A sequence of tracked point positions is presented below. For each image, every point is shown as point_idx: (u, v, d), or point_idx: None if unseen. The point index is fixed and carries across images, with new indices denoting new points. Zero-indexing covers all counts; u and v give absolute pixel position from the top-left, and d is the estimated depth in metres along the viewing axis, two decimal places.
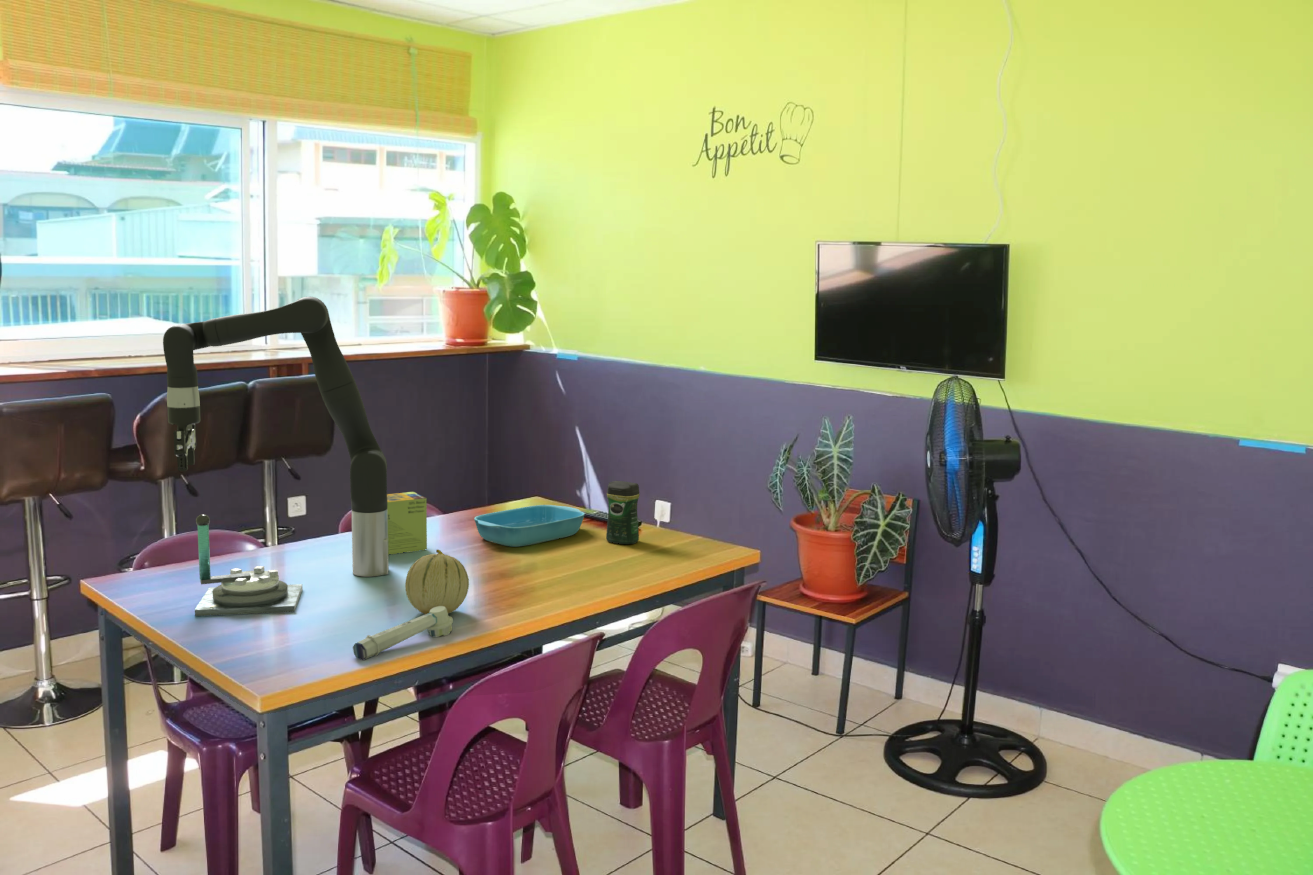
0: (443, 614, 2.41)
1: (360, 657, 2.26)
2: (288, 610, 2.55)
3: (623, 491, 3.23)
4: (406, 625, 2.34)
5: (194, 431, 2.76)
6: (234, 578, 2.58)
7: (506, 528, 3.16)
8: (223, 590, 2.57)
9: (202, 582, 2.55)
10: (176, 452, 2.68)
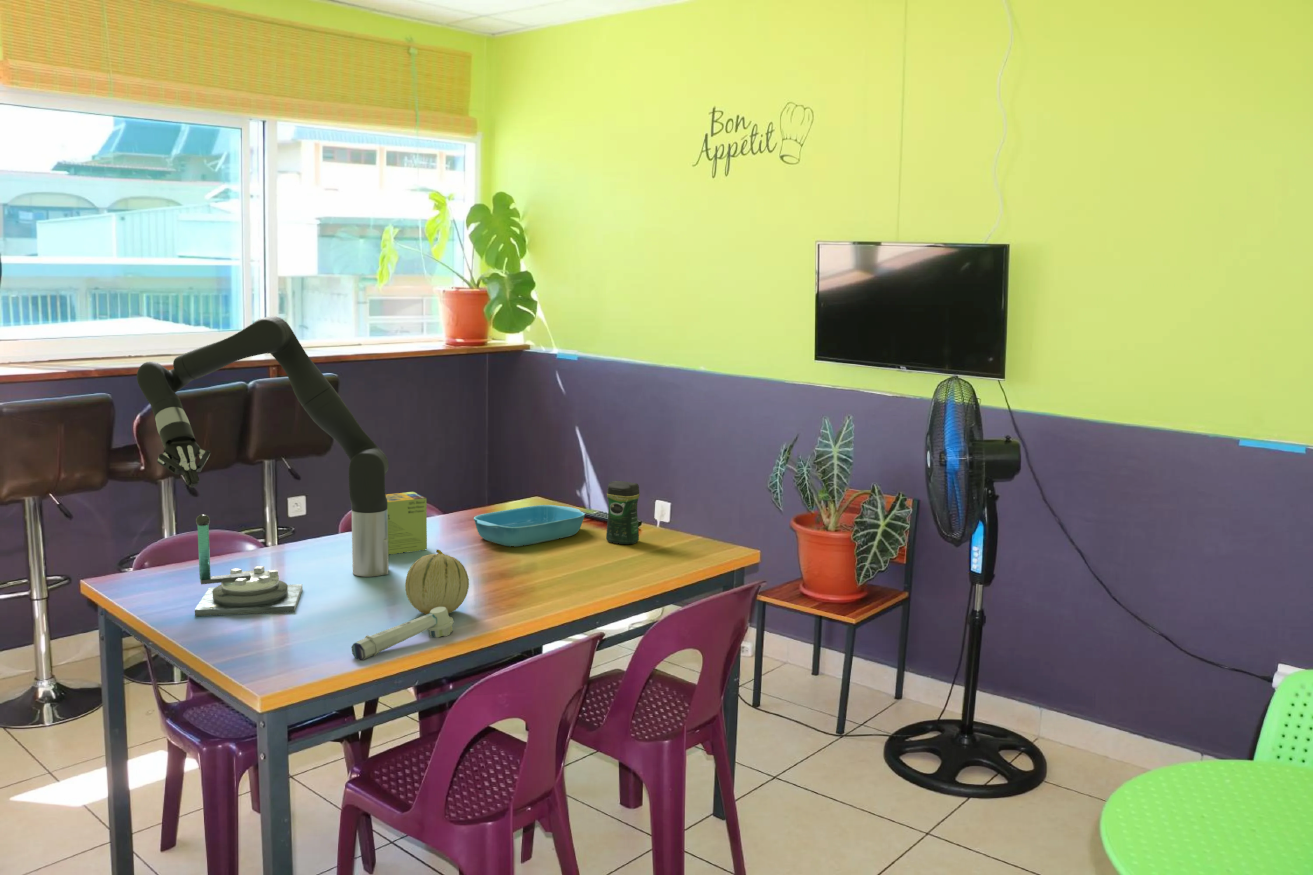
0: (444, 615, 2.41)
1: (358, 657, 2.26)
2: (288, 610, 2.55)
3: (623, 491, 3.23)
4: (405, 625, 2.34)
5: (191, 448, 2.70)
6: (234, 578, 2.58)
7: (504, 528, 3.16)
8: (223, 590, 2.57)
9: (202, 582, 2.55)
10: (174, 471, 2.66)
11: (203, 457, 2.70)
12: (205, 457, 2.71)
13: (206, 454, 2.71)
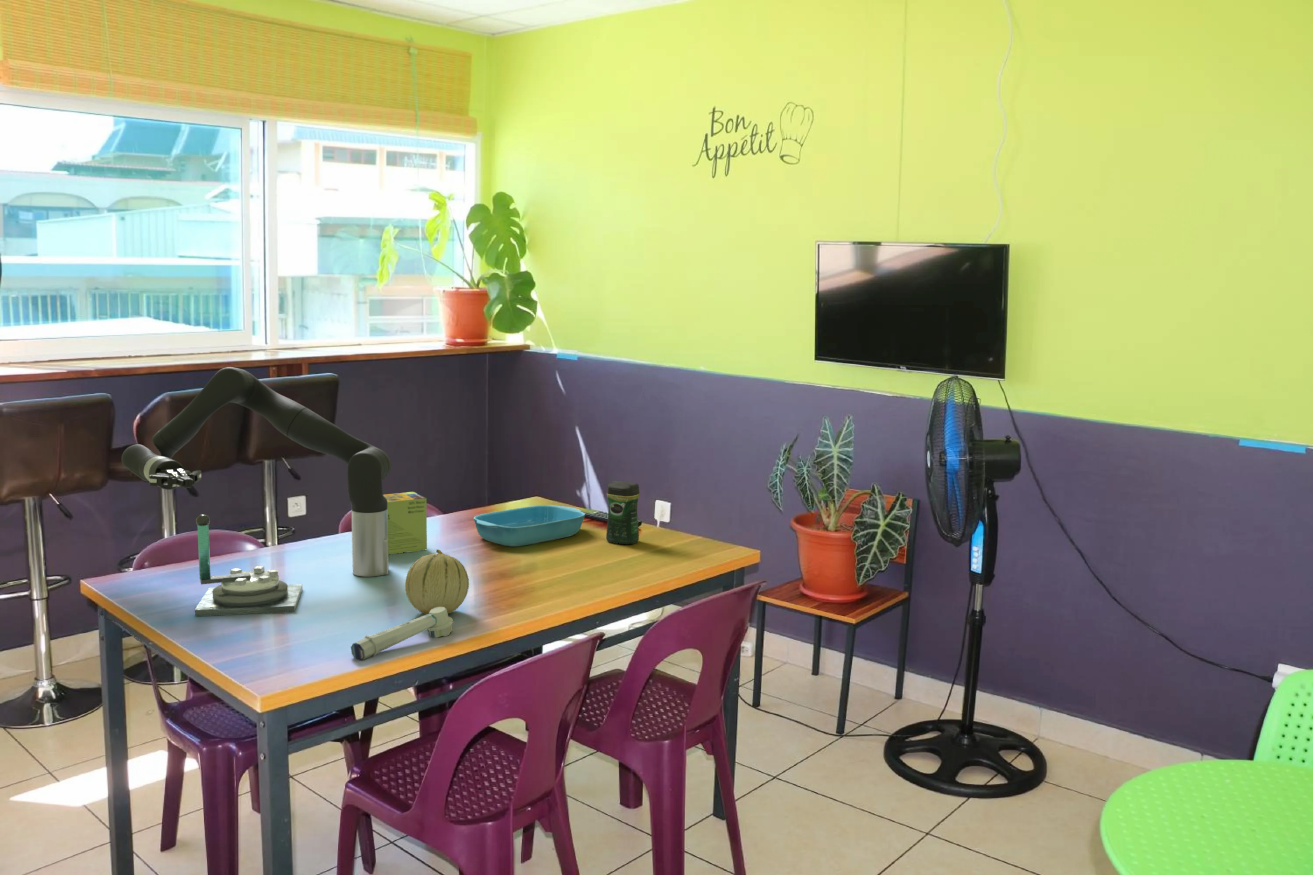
0: (443, 615, 2.41)
1: (358, 657, 2.26)
2: (288, 610, 2.55)
3: (623, 491, 3.23)
4: (405, 625, 2.34)
5: (181, 468, 2.70)
6: (234, 578, 2.58)
7: (503, 528, 3.16)
8: (223, 590, 2.57)
9: (202, 582, 2.55)
10: (167, 484, 2.63)
11: (194, 472, 2.69)
12: (196, 472, 2.70)
13: (197, 471, 2.71)
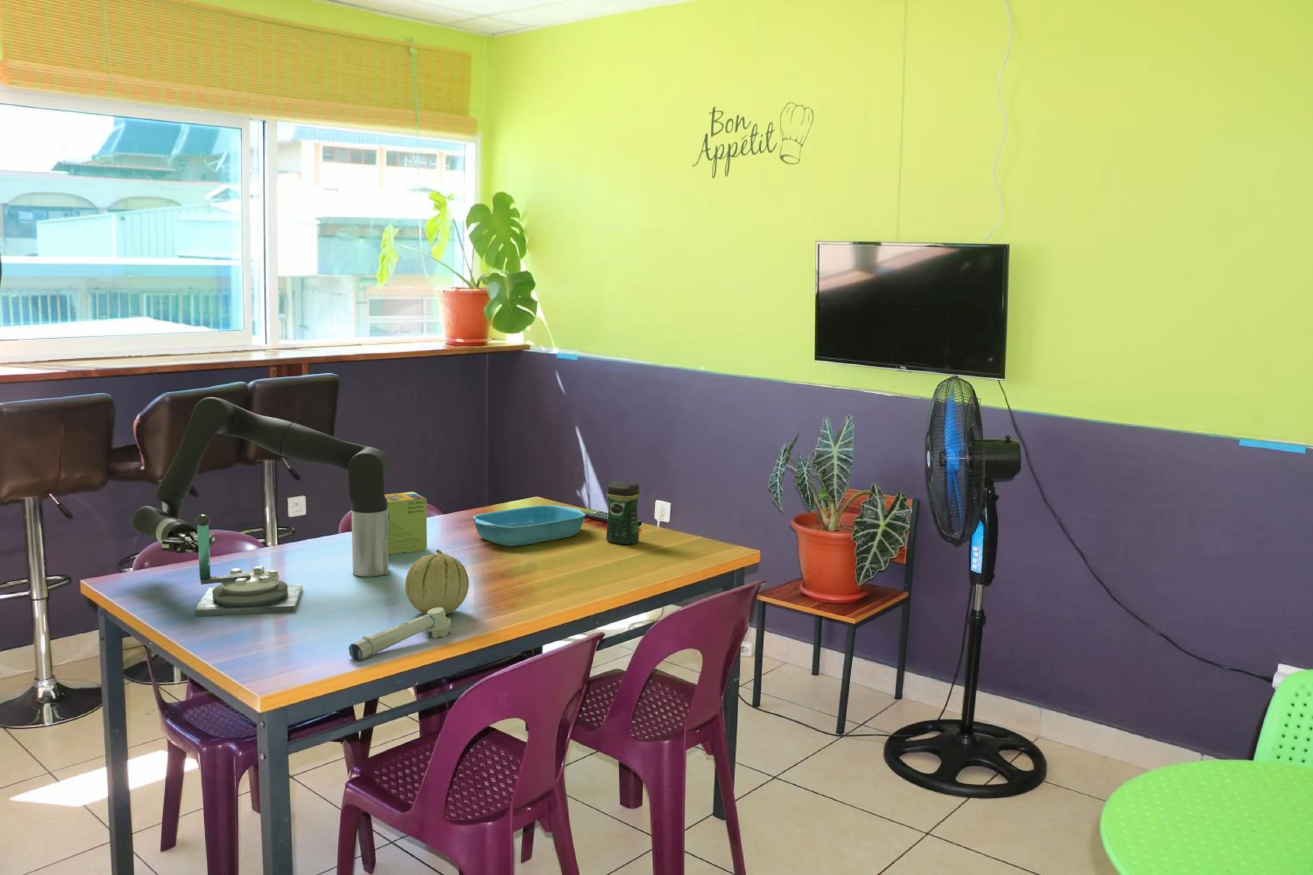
0: (441, 616, 2.40)
1: (355, 658, 2.25)
2: (288, 610, 2.55)
3: (623, 491, 3.23)
4: (402, 626, 2.34)
5: (194, 532, 2.64)
6: (234, 578, 2.58)
7: (500, 527, 3.17)
8: (223, 590, 2.57)
9: (202, 582, 2.55)
10: (180, 549, 2.58)
11: None
12: (209, 535, 2.64)
13: (210, 534, 2.65)
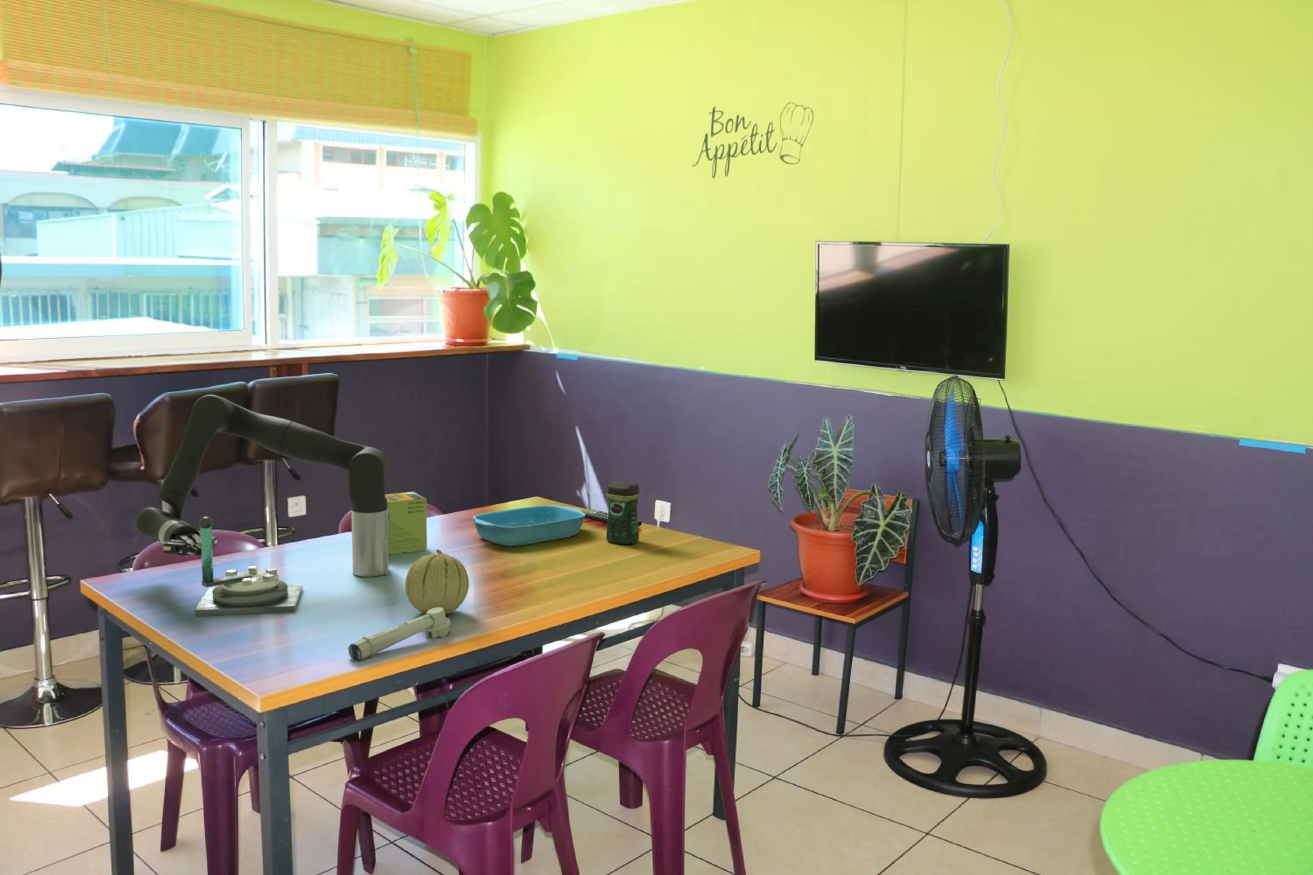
0: (441, 616, 2.40)
1: (355, 658, 2.25)
2: (288, 610, 2.55)
3: (623, 491, 3.23)
4: (402, 626, 2.34)
5: (196, 534, 2.62)
6: (237, 579, 2.57)
7: (500, 527, 3.17)
8: (227, 592, 2.56)
9: (207, 585, 2.53)
10: (181, 552, 2.55)
11: None
12: None
13: (212, 537, 2.63)
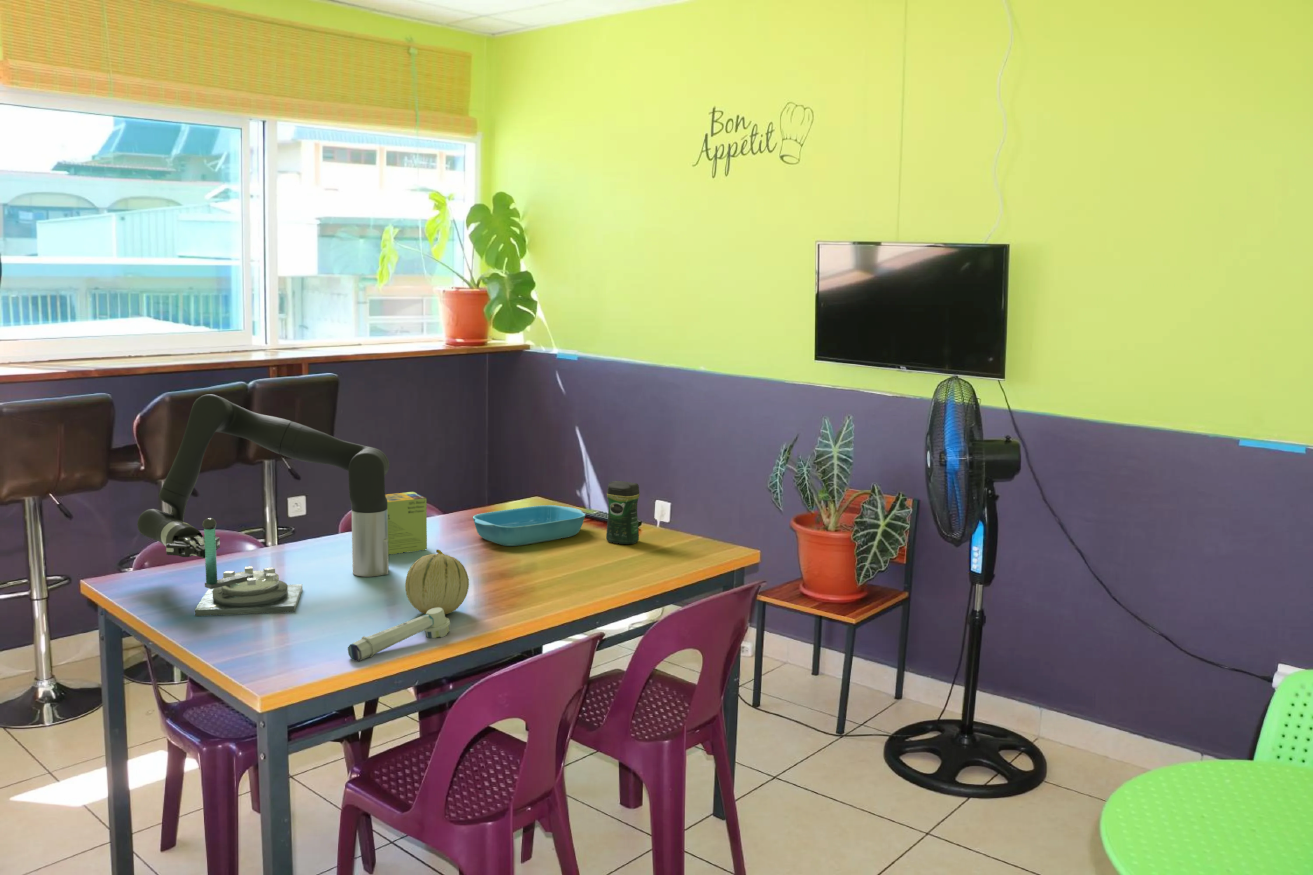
0: (440, 616, 2.40)
1: (355, 658, 2.25)
2: (288, 610, 2.55)
3: (623, 491, 3.23)
4: (402, 626, 2.34)
5: (199, 536, 2.60)
6: (239, 579, 2.57)
7: (499, 527, 3.17)
8: (231, 592, 2.55)
9: (212, 586, 2.52)
10: (184, 553, 2.54)
11: None
12: None
13: None
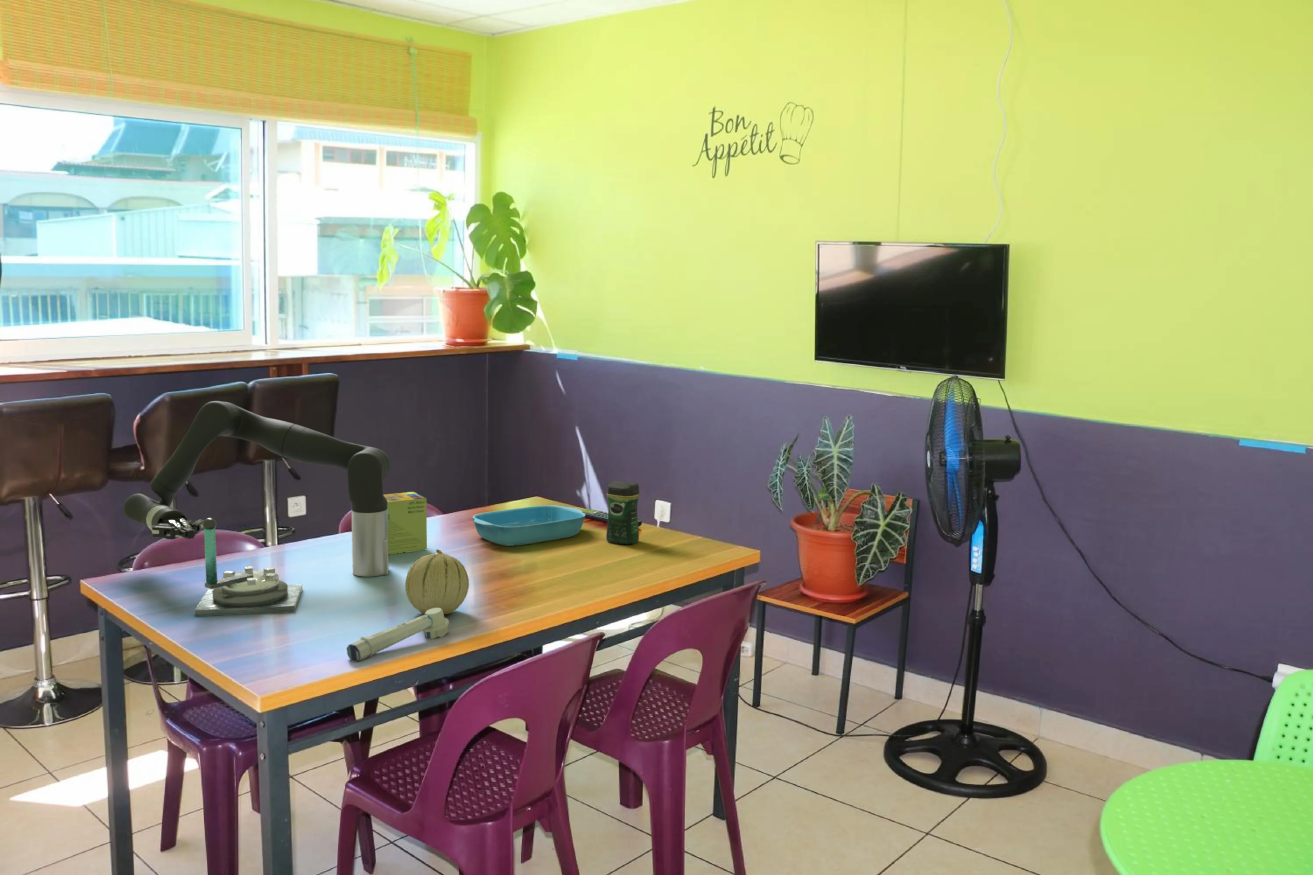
0: (439, 616, 2.40)
1: (354, 659, 2.25)
2: (288, 610, 2.55)
3: (623, 491, 3.23)
4: (400, 626, 2.33)
5: (183, 518, 2.71)
6: (239, 579, 2.57)
7: (498, 527, 3.17)
8: (231, 592, 2.55)
9: (212, 586, 2.52)
10: (170, 535, 2.65)
11: (196, 522, 2.71)
12: (198, 521, 2.71)
13: (199, 521, 2.72)
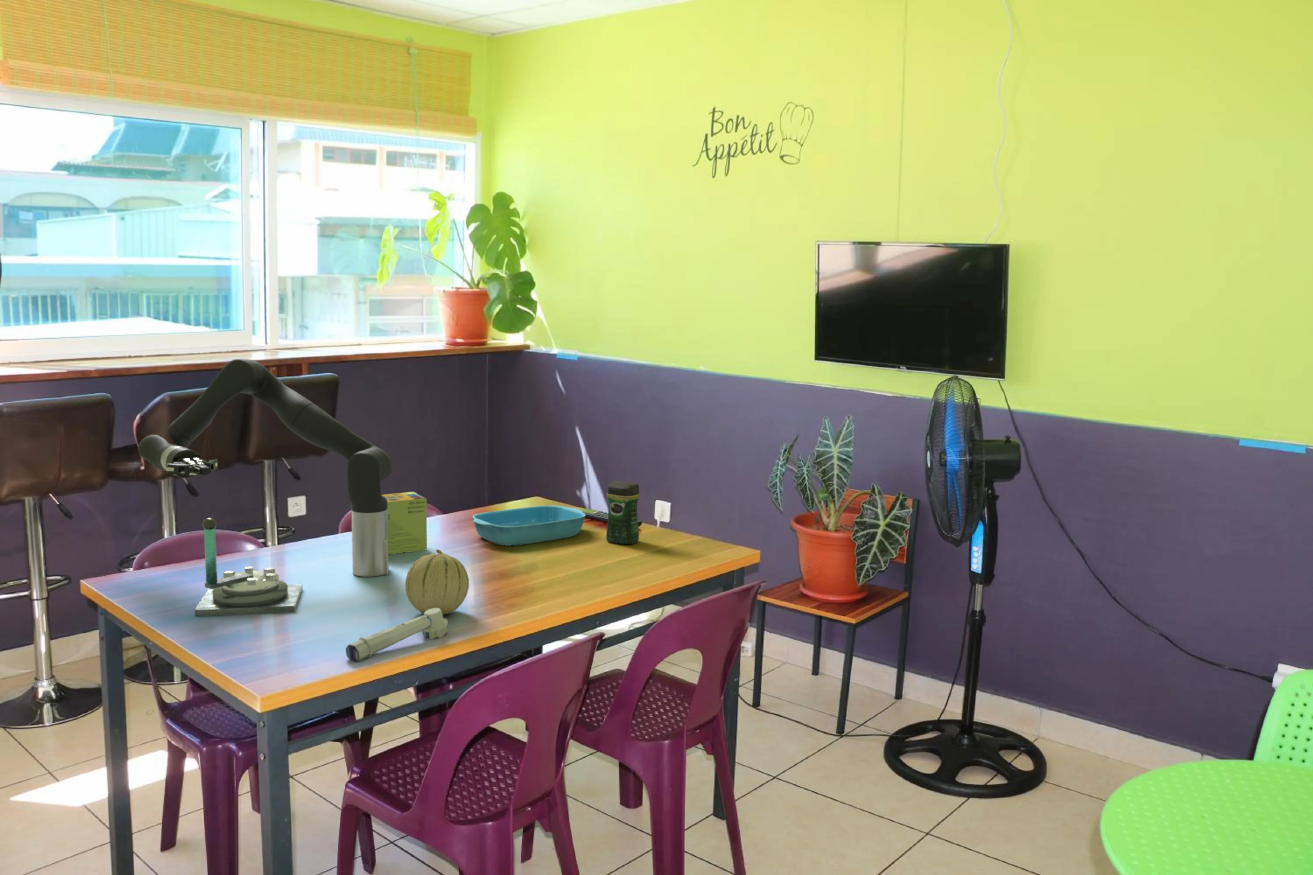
0: (438, 616, 2.40)
1: (352, 659, 2.25)
2: (288, 610, 2.55)
3: (623, 491, 3.23)
4: (399, 627, 2.33)
5: (197, 457, 2.75)
6: (239, 579, 2.57)
7: (497, 527, 3.17)
8: (231, 592, 2.55)
9: (212, 586, 2.52)
10: (184, 472, 2.69)
11: (210, 461, 2.75)
12: (212, 461, 2.75)
13: (213, 460, 2.76)
